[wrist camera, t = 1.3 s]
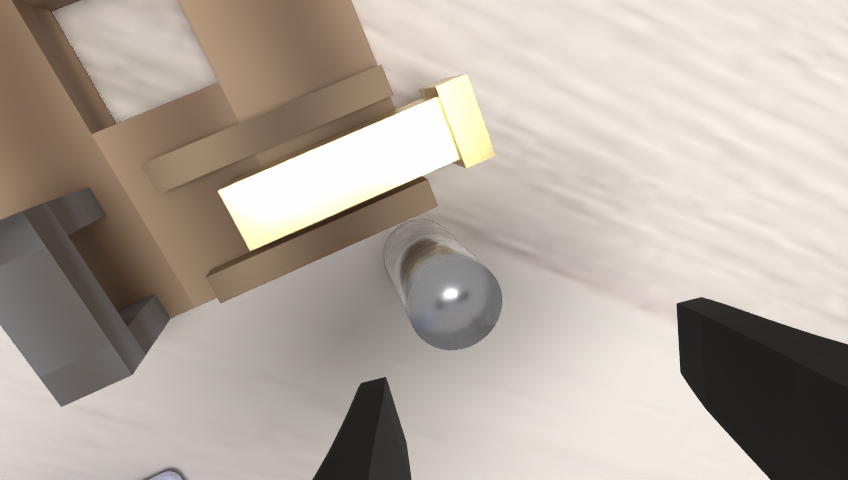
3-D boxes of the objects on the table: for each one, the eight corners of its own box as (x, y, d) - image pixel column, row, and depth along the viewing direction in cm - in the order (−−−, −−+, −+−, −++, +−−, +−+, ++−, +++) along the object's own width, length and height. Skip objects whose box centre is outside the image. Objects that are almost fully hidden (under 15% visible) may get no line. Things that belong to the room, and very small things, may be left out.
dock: (113, 326, 20) (25, 423, 14) (-95, 12, 16) (-340, -45, 10) (419, 190, 21) (462, 225, 15) (287, -131, 18) (273, -259, 11)
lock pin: (262, 241, 18) (254, 262, 15) (225, 171, 17) (210, 182, 15) (471, 149, 19) (495, 155, 16) (445, 78, 18) (466, 73, 15)
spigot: (400, 299, 22) (430, 364, 17) (372, 237, 21) (394, 285, 16) (463, 270, 23) (514, 325, 17) (438, 208, 22) (483, 243, 16)
